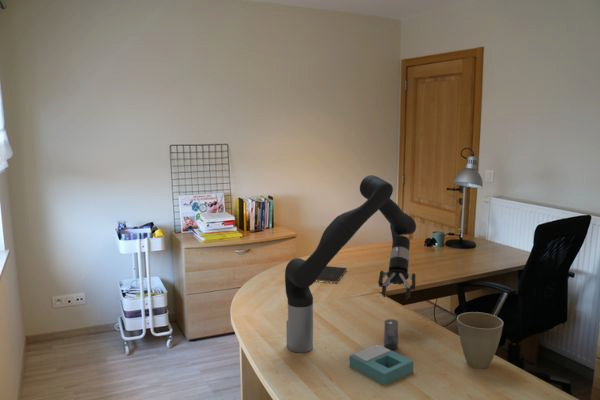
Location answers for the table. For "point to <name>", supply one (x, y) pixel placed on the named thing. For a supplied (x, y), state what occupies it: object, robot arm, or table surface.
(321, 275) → the hardcover book
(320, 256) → the robot arm
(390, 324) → the dark grey cylinder
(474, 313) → the plant pot
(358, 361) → the jig
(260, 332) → the table surface
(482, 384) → the table surface
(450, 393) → the table surface
